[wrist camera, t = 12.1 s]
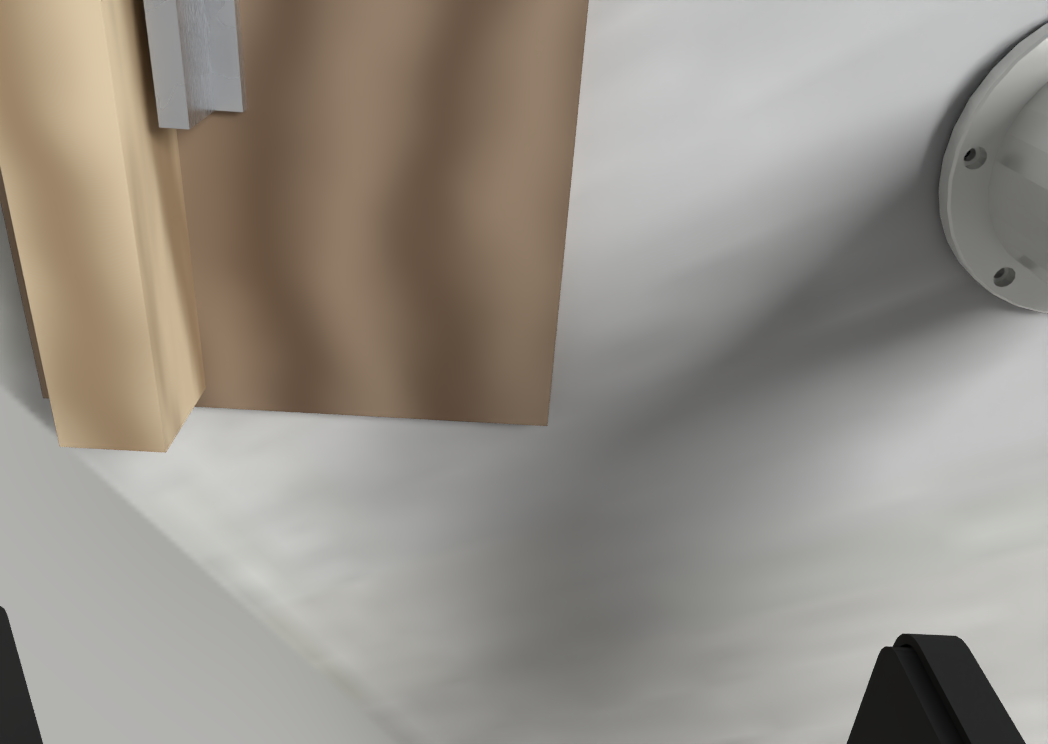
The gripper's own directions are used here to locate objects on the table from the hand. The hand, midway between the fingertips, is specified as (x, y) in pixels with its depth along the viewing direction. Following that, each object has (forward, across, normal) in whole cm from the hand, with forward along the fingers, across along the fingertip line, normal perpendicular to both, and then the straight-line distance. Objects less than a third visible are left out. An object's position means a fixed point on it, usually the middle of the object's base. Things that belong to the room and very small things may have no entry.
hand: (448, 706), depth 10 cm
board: (+28, +8, +2) cm, 29 cm away
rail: (+27, +14, +3) cm, 30 cm away
